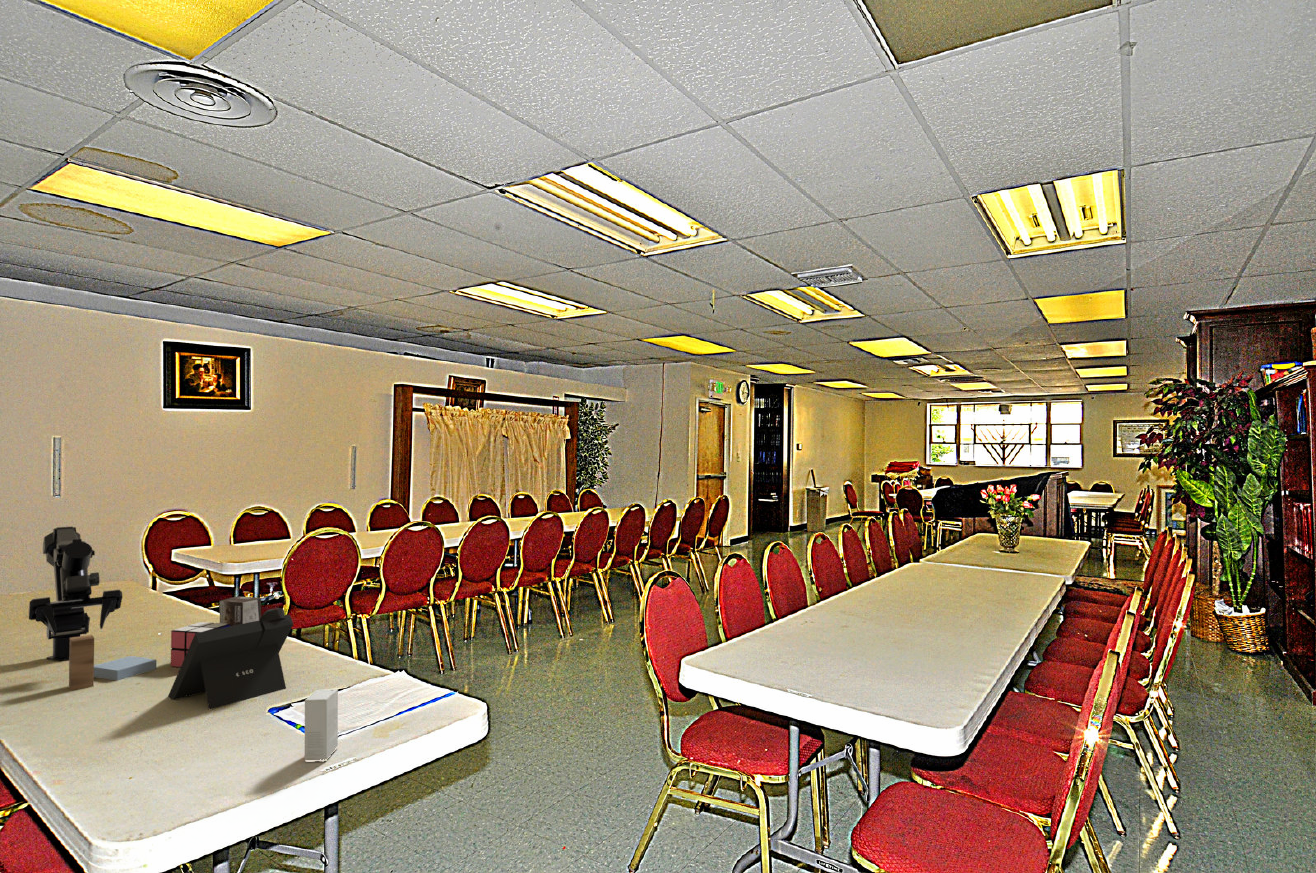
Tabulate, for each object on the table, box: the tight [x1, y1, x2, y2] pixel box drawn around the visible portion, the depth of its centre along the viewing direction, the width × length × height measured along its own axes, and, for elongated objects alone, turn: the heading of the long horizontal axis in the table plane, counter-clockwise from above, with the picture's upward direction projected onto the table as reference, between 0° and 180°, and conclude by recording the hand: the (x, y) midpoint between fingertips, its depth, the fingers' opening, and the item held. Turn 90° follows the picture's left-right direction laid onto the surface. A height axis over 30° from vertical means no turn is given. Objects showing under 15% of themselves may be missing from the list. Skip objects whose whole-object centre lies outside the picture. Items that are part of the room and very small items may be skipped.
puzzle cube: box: [170, 621, 230, 668], centre depth 196 cm, size 10×10×10 cm
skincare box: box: [304, 688, 339, 761], centre depth 137 cm, size 6×4×12 cm
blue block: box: [94, 655, 157, 681], centre depth 187 cm, size 10×10×3 cm
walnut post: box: [68, 634, 95, 691], centre depth 176 cm, size 4×4×12 cm
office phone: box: [167, 607, 294, 710], centre depth 179 cm, size 29×28×20 cm
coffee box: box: [219, 596, 262, 626], centre depth 203 cm, size 9×6×16 cm
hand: (78, 631), depth 181 cm, fingers open, 9 cm apart
